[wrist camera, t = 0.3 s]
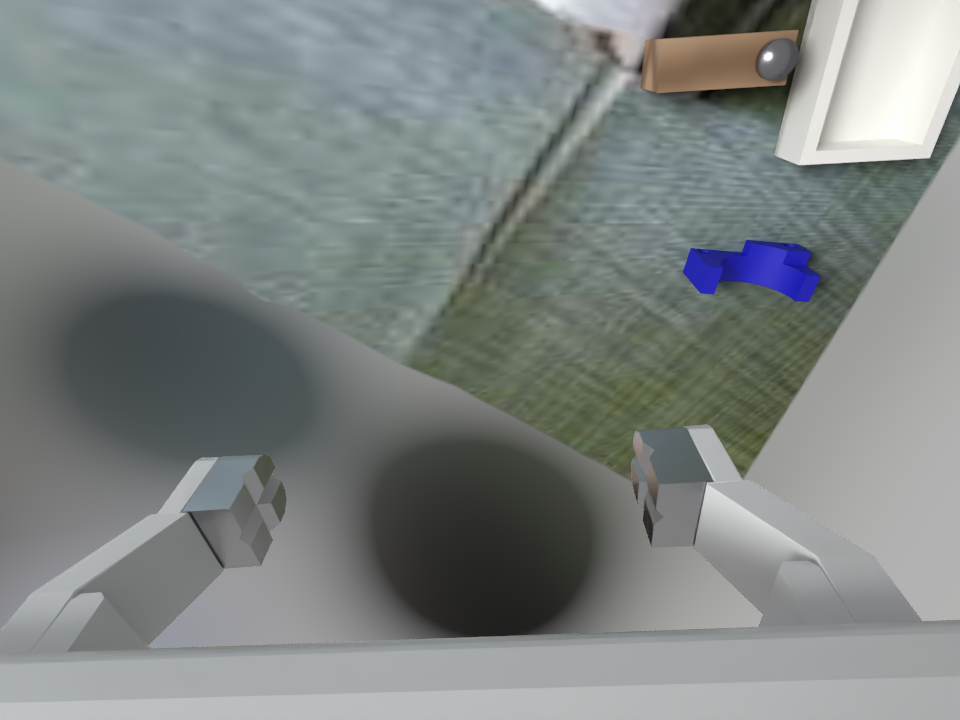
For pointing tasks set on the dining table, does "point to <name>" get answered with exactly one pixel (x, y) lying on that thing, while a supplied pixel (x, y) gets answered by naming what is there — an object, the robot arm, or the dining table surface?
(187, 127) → the dining table surface
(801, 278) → the cable clip
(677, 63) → the strut
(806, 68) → the bin
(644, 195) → the dining table surface
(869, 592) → the robot arm
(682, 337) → the dining table surface
